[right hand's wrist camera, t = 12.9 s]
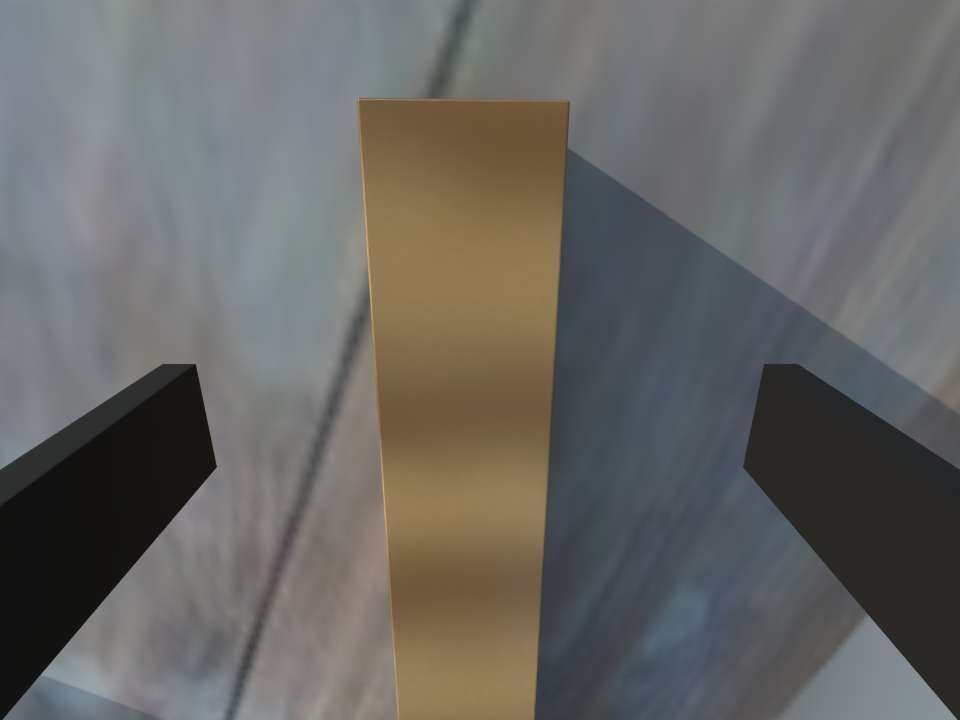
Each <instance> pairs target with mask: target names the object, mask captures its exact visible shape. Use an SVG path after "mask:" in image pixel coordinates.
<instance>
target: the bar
mask: <svg viewBox="0 0 960 720" xmlns="http://www.w3.org/2000/svg"><path fill="white" fill-rule="evenodd" d="M357 107H358V122H359V137H360V152H361V167H362V182H363V197H364V212H365V227H366V243H367V258H368V273H369V288H370V303H371V318H372V333H373V348H374V363H375V379H376V394H377V409H378V424H379V439H380V454H381V469H382V484H383V499H384V515H385V530H386V545H387V560H388V575H389V590H390V605H391V620H392V635H393V651H394V666H395V681H396V696H397V711H398V720H535V707H536V690H537V672H538V654H539V637H540V619H541V601H542V584H543V566H544V548H545V531H546V513H547V496H548V478H549V460H550V443H551V425H552V407H553V390H554V372H555V354H556V337H557V319H558V301H559V284H560V266H561V248H562V231H563V213H564V195H565V178H566V160H567V142H568V125H569V107H570V103H569V101H568V100H522V99H404V98H359V99H358V100H357Z"/></svg>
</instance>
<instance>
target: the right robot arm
mask: <svg viewBox="0 0 960 720" xmlns="http://www.w3.org/2000/svg"><path fill="white" fill-rule="evenodd" d="M216 468H217V465H216V461H215V456H214V451H213V446H212V441H211V436H210V431H209V426H208V422H207V417H206V412H205V407H204V402H203V397H202V392H201V388H200V383H199V378H198V373H197V368H196V364H162V365H160V366H159V367H157V368H156V369H154V370H153V371H151V372H150V373H148V374H147V375H145V376H144V377H142V378H141V379H139V380H137V381H136V382H134V383H133V384H131V385H130V386H128V387H127V388H125V389H124V390H122V391H121V392H119V393H117V394H116V395H114V396H113V397H111V398H110V399H108V400H107V401H105V402H104V403H102V404H101V405H99V406H98V407H96V408H94V409H93V410H91V411H90V412H88V413H87V414H85V415H84V416H82V417H81V418H79V419H78V420H76V421H75V422H73V423H71V424H70V425H68V426H67V427H65V428H64V429H62V430H61V431H59V432H58V433H56V434H55V435H53V436H52V437H50V438H48V439H47V440H45V441H44V442H42V443H41V444H39V445H38V446H36V447H35V448H33V449H32V450H30V451H29V452H27V453H25V454H24V455H22V456H21V457H19V458H18V459H16V460H15V461H13V462H12V463H10V464H9V465H7V466H6V467H4V468H2V469H1V470H0V720H3V718H4V717H5V716H6V715H7V714H8V713H9V711H10V710H11V709H12V708H13V707H14V705H15V704H16V703H17V702H18V701H19V700H20V698H21V697H22V696H23V695H24V694H25V692H26V691H27V690H28V689H29V688H30V687H31V685H32V684H33V683H34V682H35V681H36V680H37V678H38V677H39V676H40V675H41V674H42V672H43V671H44V670H45V669H46V668H47V667H48V665H49V664H50V663H51V662H52V661H53V660H54V658H55V657H56V656H57V655H58V654H59V652H60V651H61V650H62V649H63V648H64V647H65V645H66V644H67V643H68V642H69V641H70V639H71V638H72V637H73V636H74V635H75V634H76V632H77V631H78V630H79V629H80V628H81V627H82V625H83V624H84V623H85V622H86V621H87V619H88V618H89V617H90V616H91V615H92V614H93V612H94V611H95V610H96V609H97V608H98V607H99V605H100V604H101V603H102V602H103V601H104V599H105V598H106V597H107V596H108V595H109V594H110V592H111V591H112V590H113V589H114V588H115V586H116V585H117V584H118V583H119V582H120V581H121V579H122V578H123V577H124V576H125V575H126V574H127V572H128V571H129V570H130V569H131V568H132V566H133V565H134V564H135V563H136V562H137V561H138V559H139V558H140V557H141V556H142V555H143V554H144V552H145V551H146V550H147V549H148V548H149V546H150V545H151V544H152V543H153V542H154V541H155V539H156V538H157V537H158V536H159V535H160V533H161V532H162V531H163V530H164V529H165V528H166V526H167V525H168V524H169V523H170V522H171V521H172V519H173V518H174V517H175V516H176V515H177V513H178V512H179V511H180V510H181V509H182V508H183V506H184V505H185V504H186V503H187V502H188V501H189V499H190V498H191V497H192V496H193V495H194V493H195V492H196V491H197V490H198V489H199V488H200V486H201V485H202V484H203V483H204V482H205V480H206V479H207V478H208V477H209V476H210V475H211V473H212V472H213V471H214V470H215V469H216ZM743 468H744V469H745V470H746V471H747V472H748V473H749V475H750V476H751V477H752V478H753V479H754V480H755V482H756V483H757V484H758V485H759V486H760V488H761V489H762V490H763V491H764V492H765V493H766V495H767V496H768V497H769V498H770V499H771V501H772V502H773V503H774V504H775V505H776V506H777V508H778V509H779V510H780V511H781V512H782V513H783V515H784V516H785V517H786V518H787V519H788V521H789V522H790V523H791V524H792V525H793V526H794V528H795V529H796V530H797V531H798V532H799V533H800V535H801V536H802V537H803V538H804V539H805V541H806V542H807V543H808V544H809V545H810V546H811V548H812V549H813V550H814V551H815V552H816V554H817V555H818V556H819V557H820V558H821V559H822V561H823V562H824V563H825V564H826V565H827V566H828V568H829V569H830V570H831V571H832V572H833V574H834V575H835V576H836V577H837V578H838V579H839V581H840V582H841V583H842V584H843V585H844V586H845V588H846V589H847V590H848V591H849V592H850V594H851V595H852V596H853V597H854V598H855V599H856V601H857V602H858V603H859V604H860V605H861V607H862V608H863V609H864V610H865V611H866V612H867V614H868V615H869V616H870V617H871V618H872V619H873V621H874V622H875V623H876V624H877V625H878V627H879V628H880V629H881V630H882V631H883V632H884V633H885V635H886V636H887V637H888V638H889V639H890V641H891V642H892V643H893V644H894V645H895V647H896V648H897V649H898V650H899V651H900V652H901V654H902V655H903V656H904V657H905V658H906V660H907V661H908V662H909V663H910V664H911V665H912V667H913V668H914V669H915V670H916V671H917V672H918V674H919V675H920V676H921V677H922V678H923V680H924V681H925V682H926V683H927V684H928V685H929V687H930V688H931V689H932V690H933V691H934V692H935V694H936V695H937V696H938V697H939V698H940V700H941V701H942V702H943V703H944V704H945V705H946V707H947V708H948V709H949V710H950V711H951V712H952V714H953V715H954V716H955V717H956V718H957V720H960V470H959V469H958V468H956V467H954V466H953V465H951V464H950V463H948V462H947V461H945V460H944V459H942V458H941V457H939V456H938V455H936V454H935V453H933V452H931V451H930V450H928V449H927V448H925V447H924V446H922V445H921V444H919V443H918V442H916V441H915V440H913V439H912V438H910V437H908V436H907V435H905V434H904V433H902V432H901V431H899V430H898V429H896V428H895V427H893V426H892V425H890V424H889V423H887V422H885V421H884V420H882V419H881V418H879V417H878V416H876V415H875V414H873V413H872V412H870V411H869V410H867V409H866V408H864V407H862V406H861V405H859V404H858V403H856V402H855V401H853V400H852V399H850V398H849V397H847V396H846V395H844V394H843V393H841V392H839V391H838V390H836V389H835V388H833V387H832V386H830V385H829V384H827V383H826V382H824V381H823V380H821V379H819V378H818V377H816V376H815V375H813V374H812V373H810V372H809V371H807V370H806V369H804V368H803V367H801V366H800V365H798V364H764V368H763V373H762V378H761V383H760V388H759V392H758V397H757V402H756V407H755V412H754V417H753V422H752V426H751V431H750V436H749V441H748V446H747V451H746V456H745V461H744V465H743Z"/></svg>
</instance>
